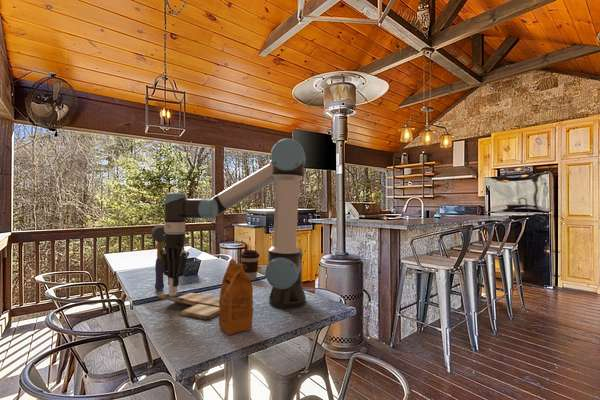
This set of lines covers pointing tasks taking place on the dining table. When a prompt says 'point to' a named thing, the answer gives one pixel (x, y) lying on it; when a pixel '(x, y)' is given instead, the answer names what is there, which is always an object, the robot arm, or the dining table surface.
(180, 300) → the plank
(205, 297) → the wooden board
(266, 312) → the dining table surface
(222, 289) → the coffee package
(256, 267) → the coffee cup
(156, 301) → the dining table surface
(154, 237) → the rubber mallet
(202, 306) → the plank
